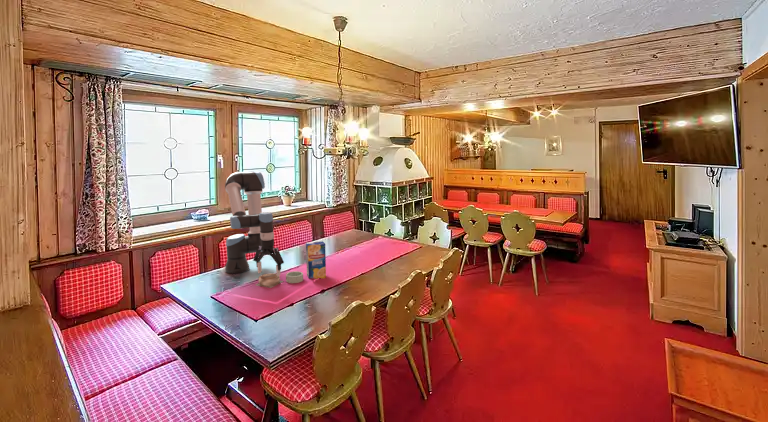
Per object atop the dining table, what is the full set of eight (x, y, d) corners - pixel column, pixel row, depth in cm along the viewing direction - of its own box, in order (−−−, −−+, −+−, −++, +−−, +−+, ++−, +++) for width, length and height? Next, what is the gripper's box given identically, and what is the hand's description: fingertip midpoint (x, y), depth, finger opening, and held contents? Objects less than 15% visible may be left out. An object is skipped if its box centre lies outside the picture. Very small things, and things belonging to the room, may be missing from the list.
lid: (254, 285, 229) (254, 278, 228) (267, 278, 240) (267, 271, 239) (271, 287, 224) (270, 280, 224) (283, 281, 235) (283, 274, 235)
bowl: (282, 283, 235) (282, 275, 234) (292, 278, 244) (292, 270, 243) (297, 285, 231) (296, 277, 230) (306, 280, 240) (306, 272, 239)
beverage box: (306, 276, 247) (305, 242, 243) (323, 274, 251) (323, 241, 247) (308, 280, 240) (307, 245, 237) (326, 277, 244) (325, 244, 240)
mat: (254, 286, 229) (254, 285, 229) (267, 280, 240) (267, 278, 240) (271, 289, 225) (271, 287, 224) (283, 282, 236) (283, 281, 235)
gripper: (245, 238, 229) (247, 273, 232) (280, 242, 219) (282, 278, 223) (254, 236, 235) (256, 269, 239) (288, 239, 226) (290, 274, 230)
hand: (269, 274), depth 231 cm, fingers open, 13 cm apart
